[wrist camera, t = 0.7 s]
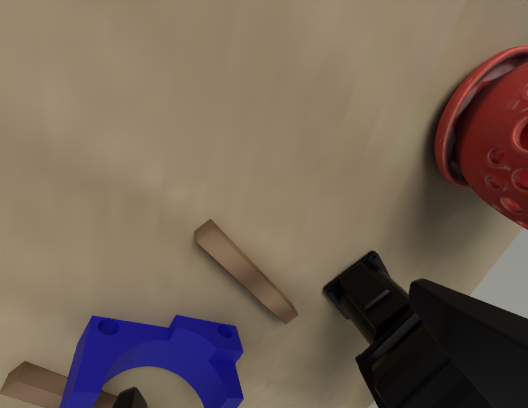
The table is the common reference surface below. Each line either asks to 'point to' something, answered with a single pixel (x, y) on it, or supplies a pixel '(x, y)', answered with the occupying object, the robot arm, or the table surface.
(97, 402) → the brown wooden bars
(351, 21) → the table surface
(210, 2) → the table surface
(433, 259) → the table surface
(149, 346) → the cable clip
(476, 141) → the plant pot
